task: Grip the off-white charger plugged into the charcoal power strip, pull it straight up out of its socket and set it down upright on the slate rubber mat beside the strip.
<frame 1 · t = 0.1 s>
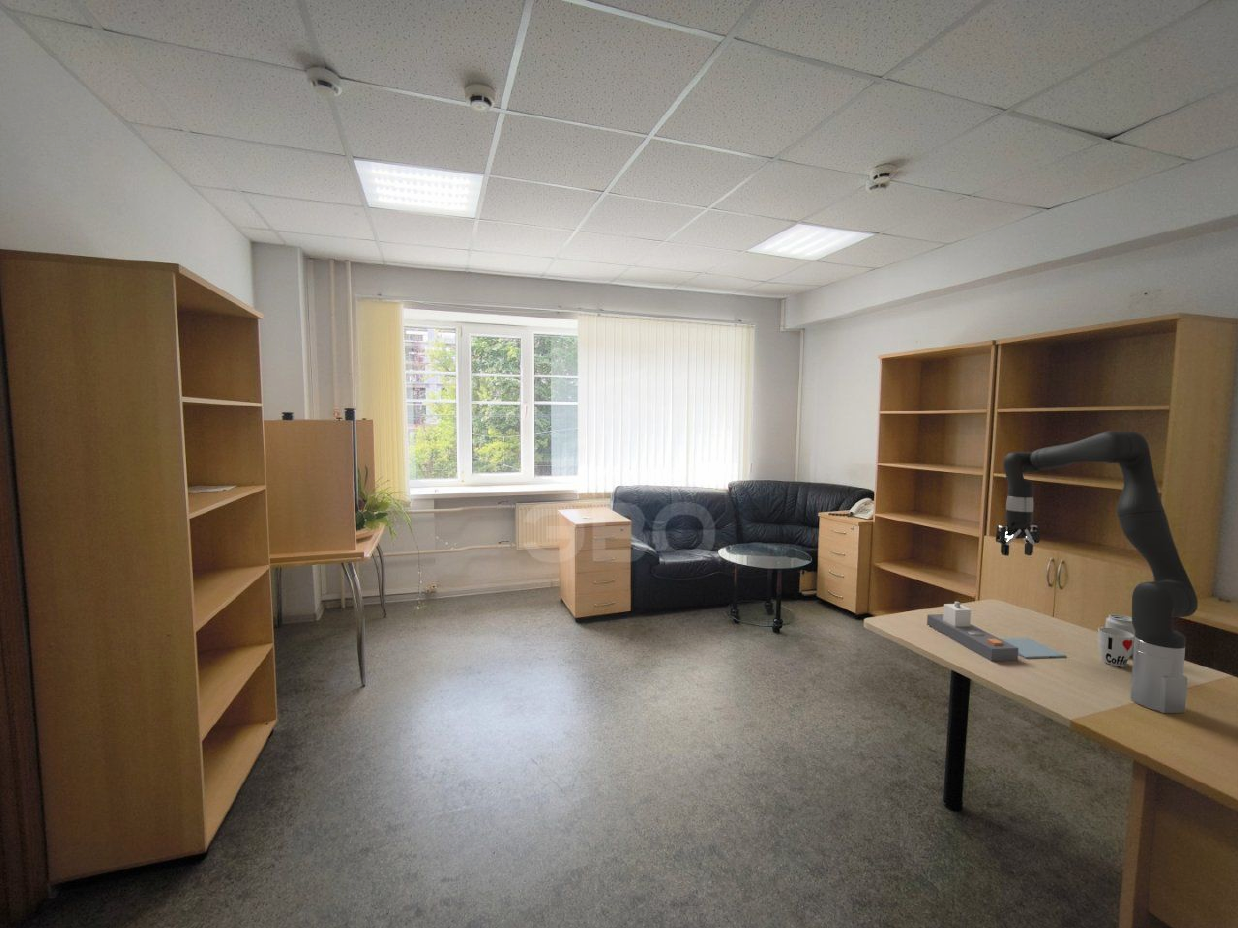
hand: (1016, 554, 179), 29 cm above the table, tool pointing down, fingers open, 8 cm apart
can: (1119, 653, 168), on the table
power strip: (968, 641, 177), on the table
cup: (1113, 663, 161), on the table
mat: (1026, 648, 171), on the table
charger: (956, 628, 183), point 2 cm above the table, touching power strip
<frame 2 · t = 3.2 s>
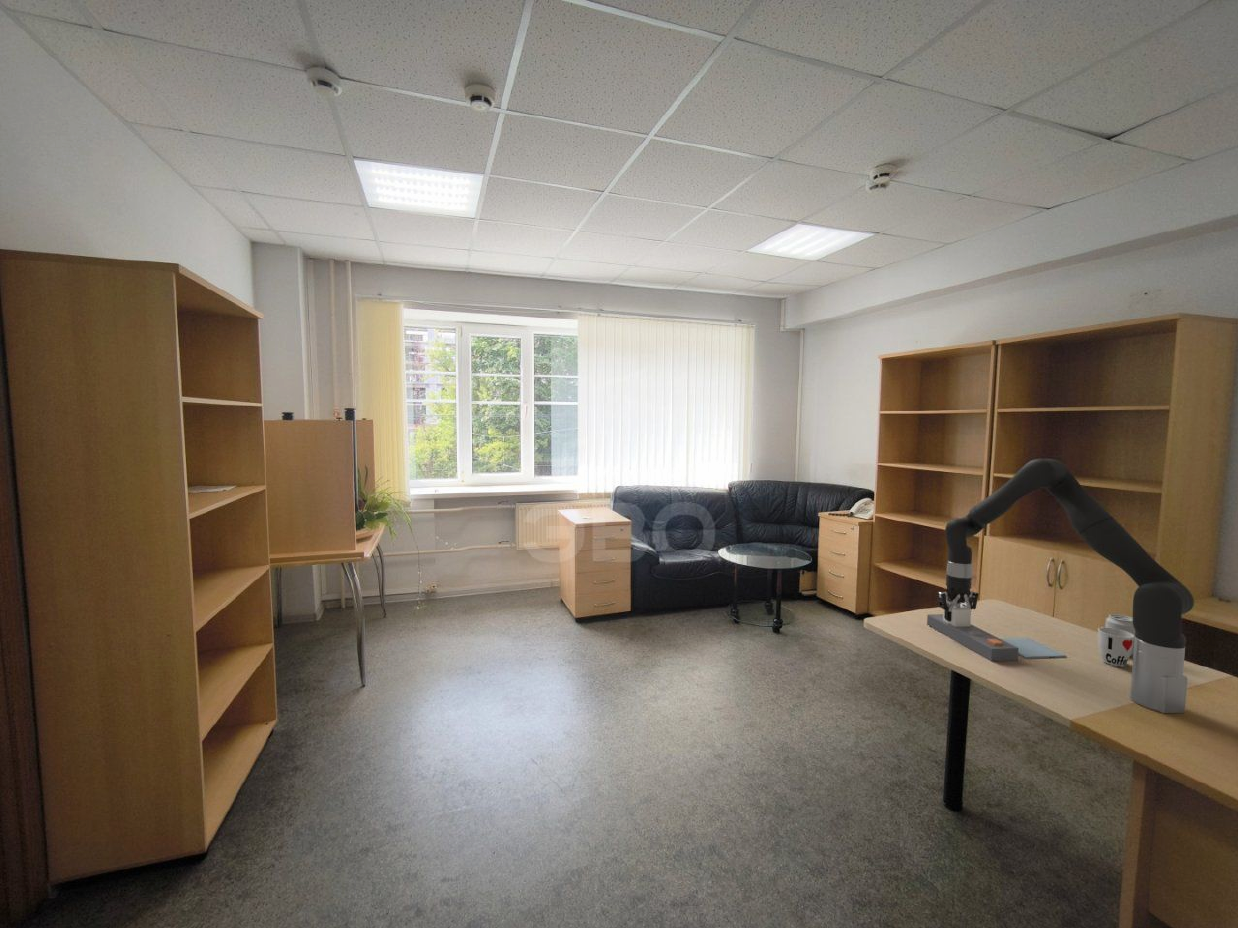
hand: (956, 620, 183), 5 cm above the table, tool pointing down, fingers closed on charger, 5 cm apart
charger: (956, 628, 183), point 2 cm above the table, touching gripper, power strip
everything else where it was.
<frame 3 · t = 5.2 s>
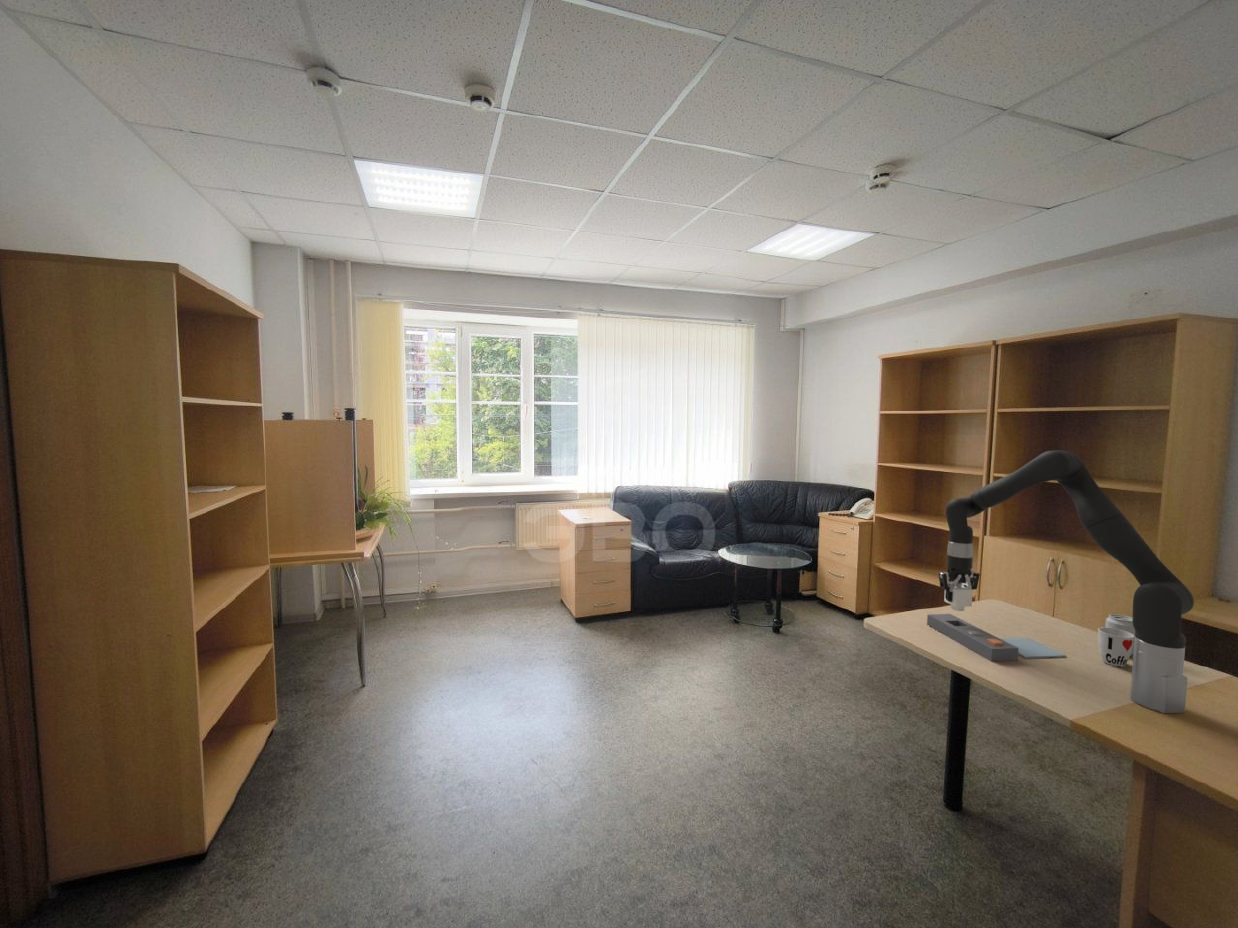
hand: (957, 600, 182), 12 cm above the table, tool pointing down, fingers closed on charger, 5 cm apart
charger: (957, 609, 182), point 9 cm above the table, touching gripper
everything else where it was.
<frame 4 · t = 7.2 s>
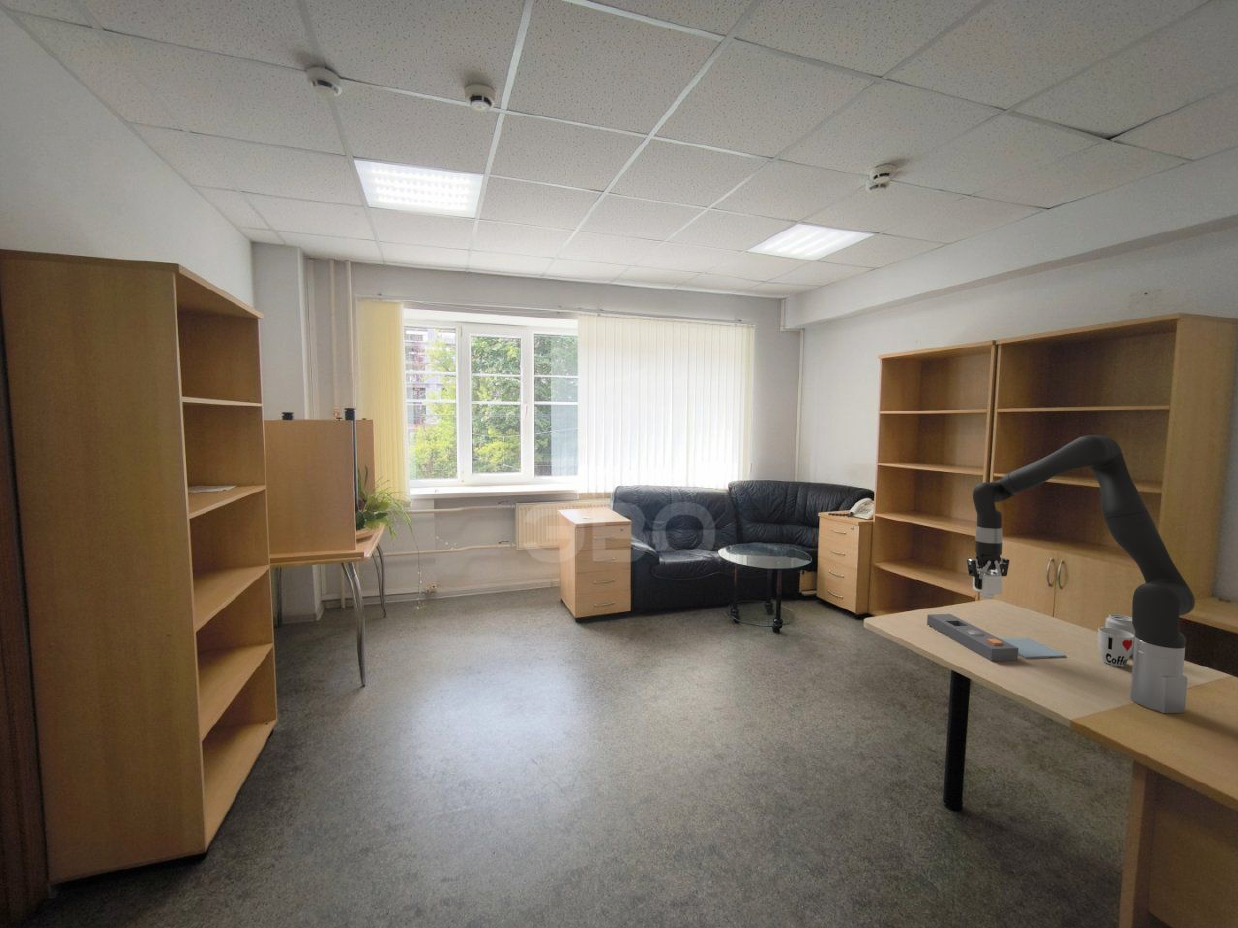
hand: (987, 588, 176), 18 cm above the table, tool pointing down, fingers closed on charger, 5 cm apart
charger: (986, 596, 176), point 16 cm above the table, touching gripper
everything else where it was.
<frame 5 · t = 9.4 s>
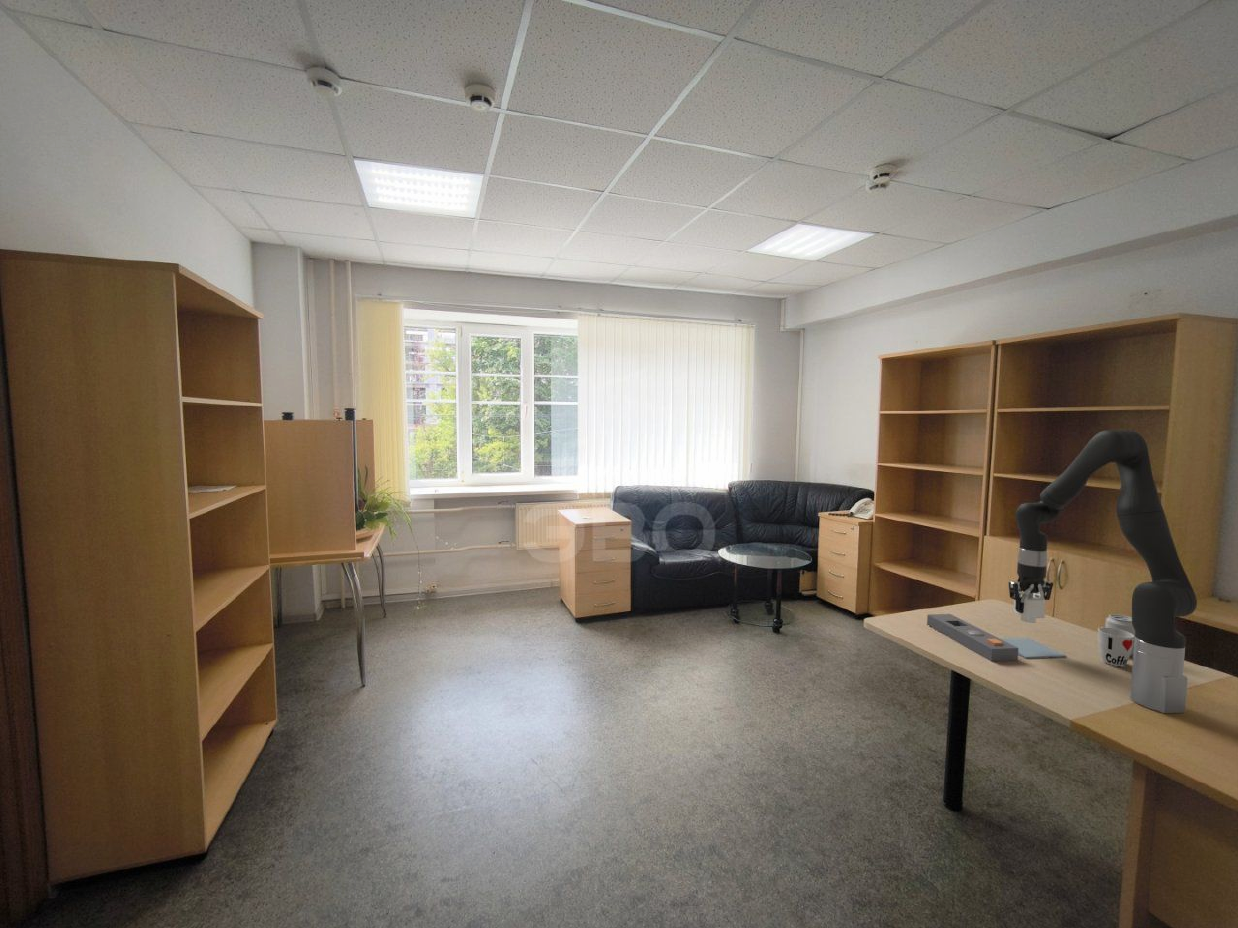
hand: (1028, 611, 170), 12 cm above the table, tool pointing down, fingers closed on charger, 5 cm apart
charger: (1028, 620, 171), point 10 cm above the table, touching gripper
everything else where it was.
when the fingers open (4 cm above the table, at t = 11.3 s): charger stays where it is, resting on mat.
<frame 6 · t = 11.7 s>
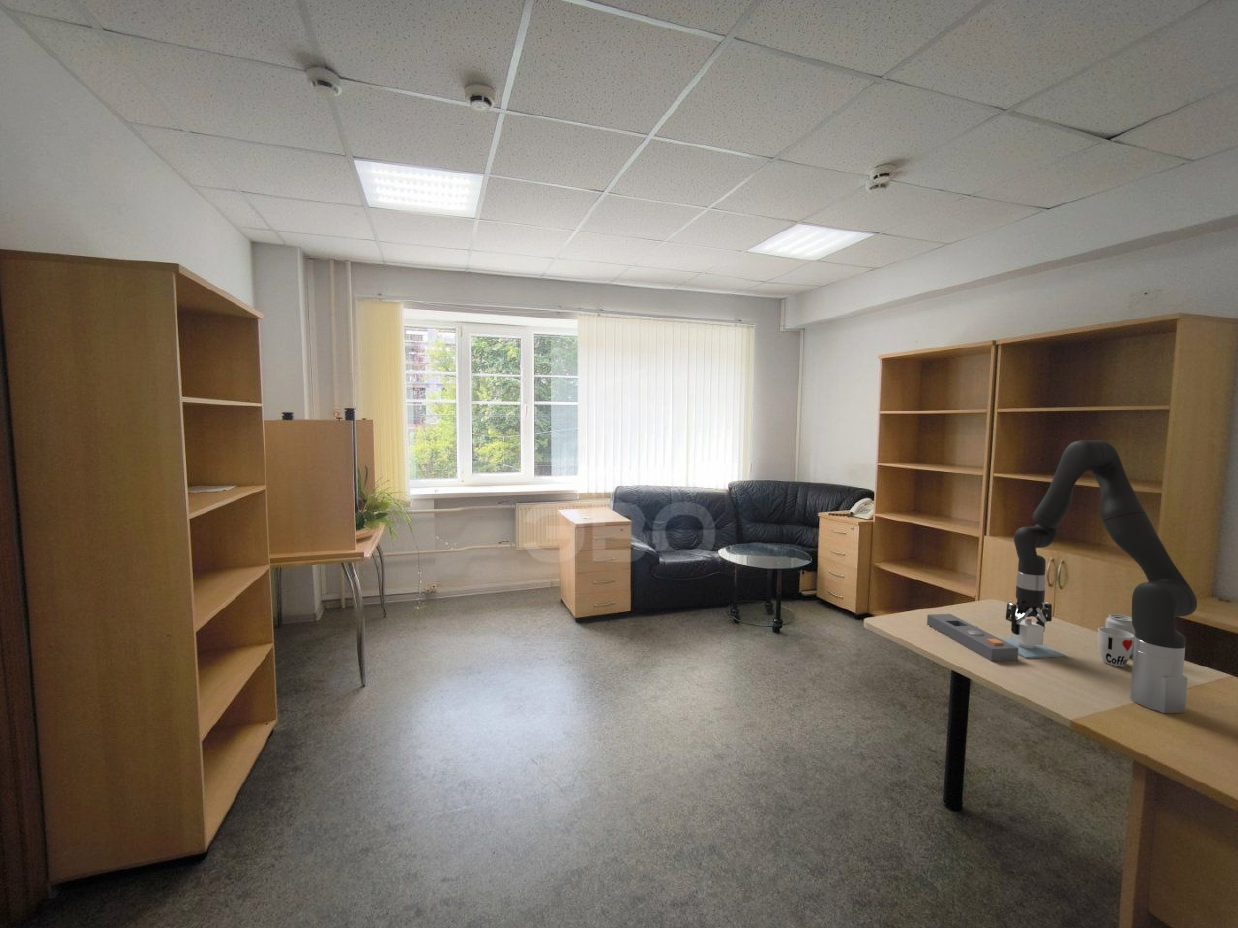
hand: (1027, 633, 171), 5 cm above the table, tool pointing down, fingers open, 8 cm apart
charger: (1026, 646, 171), point 1 cm above the table, touching mat
everything else where it was.
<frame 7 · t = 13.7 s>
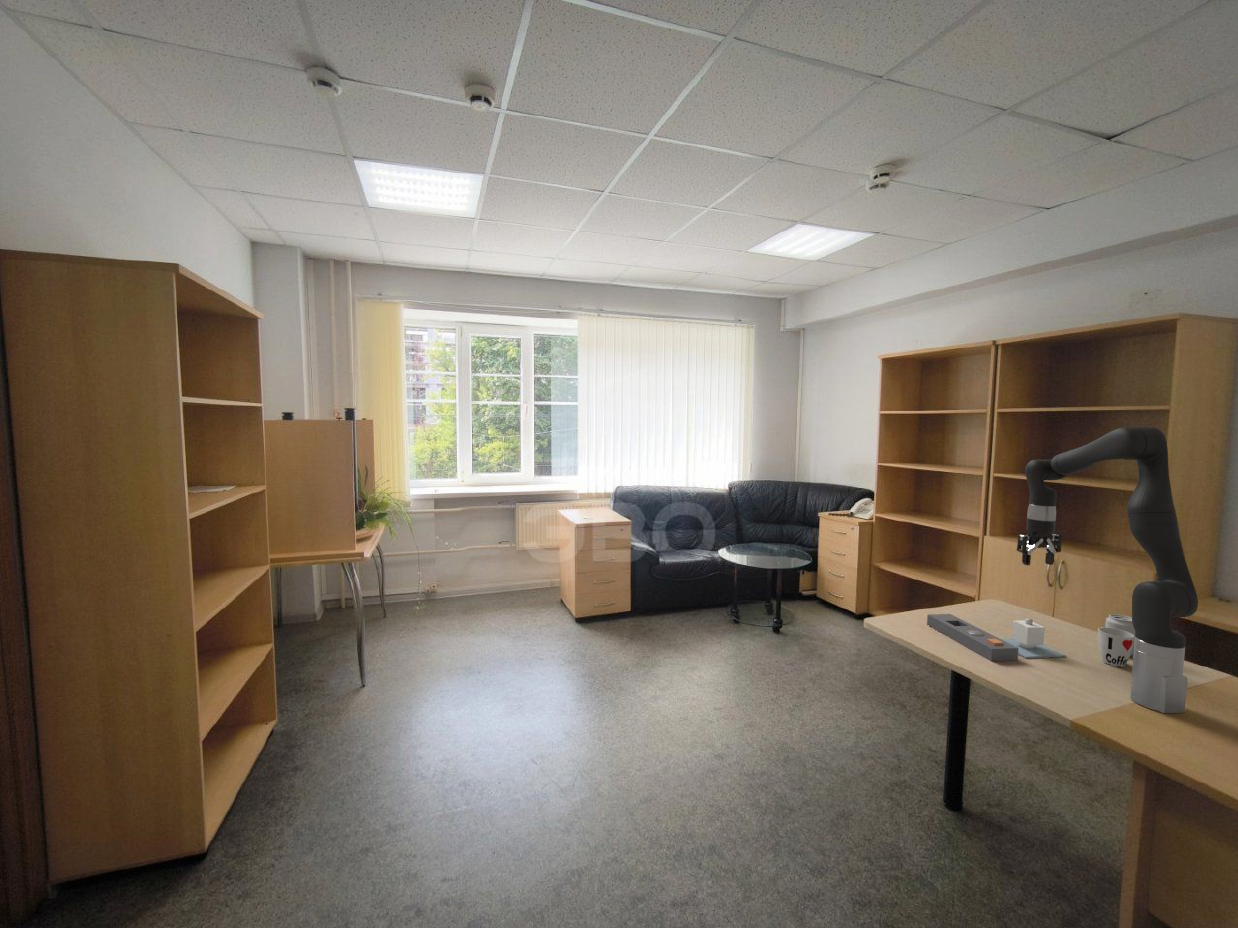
hand: (1037, 564, 176), 27 cm above the table, tool pointing down, fingers open, 8 cm apart
nothing on the table moved.
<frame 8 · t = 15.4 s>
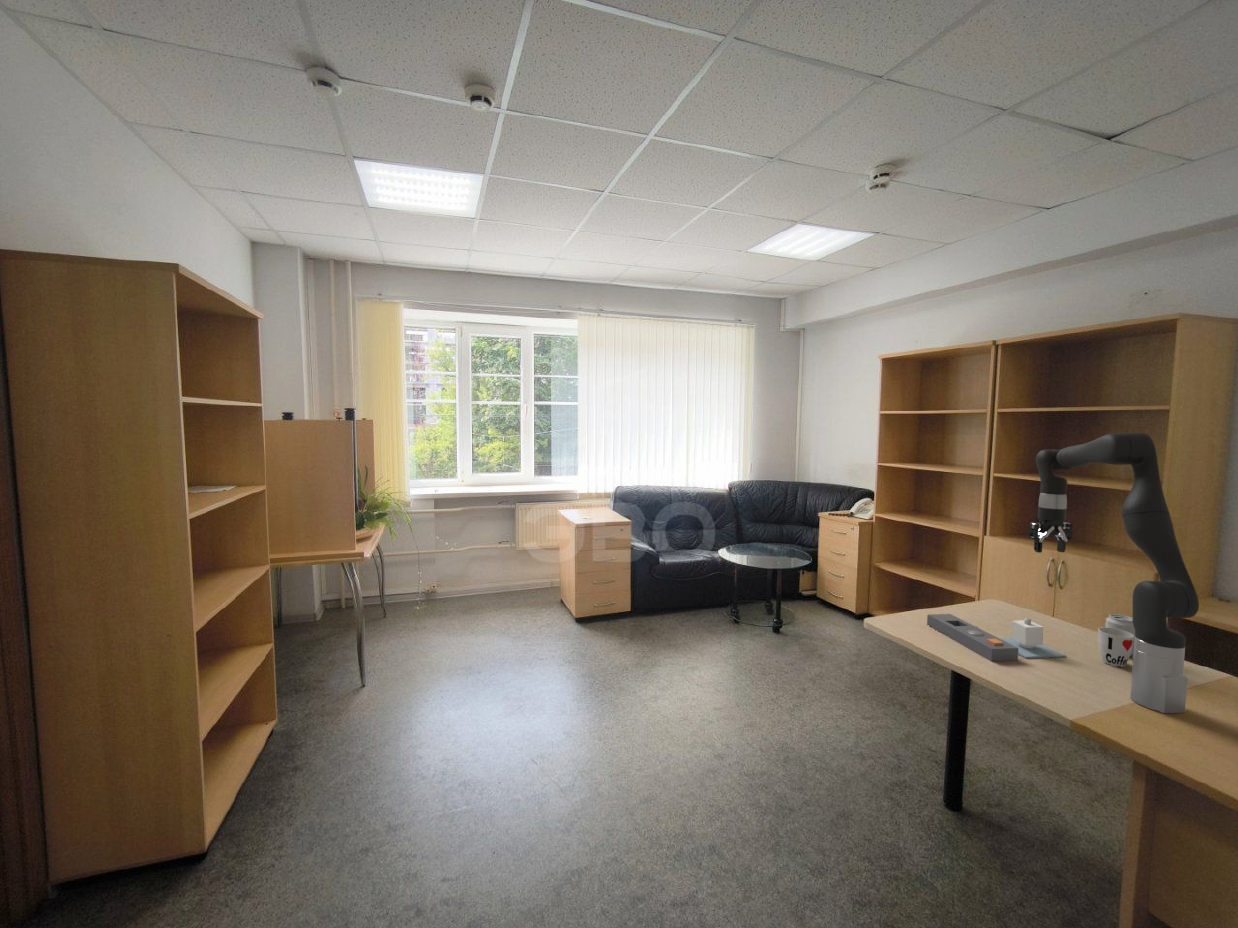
hand: (1049, 551, 180), 30 cm above the table, tool pointing down, fingers open, 8 cm apart
nothing on the table moved.
at the end: charger inside the target area on the mat (0.1 cm from its centre), point 0.7 cm above the mat's base; charger tilted 2°; the gripper is holding nothing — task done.
